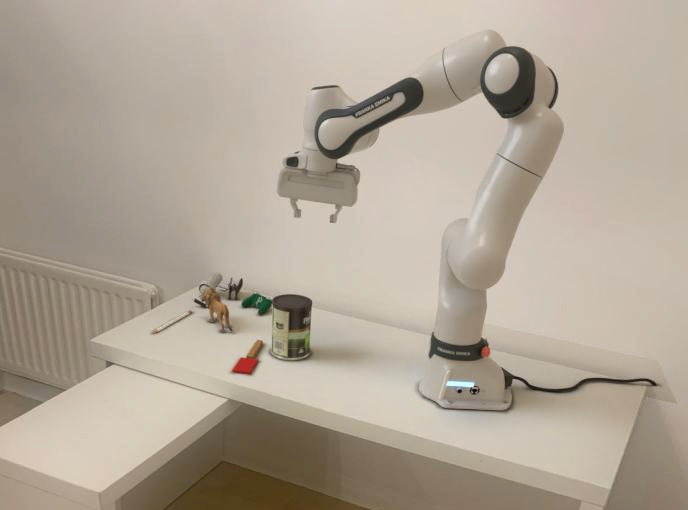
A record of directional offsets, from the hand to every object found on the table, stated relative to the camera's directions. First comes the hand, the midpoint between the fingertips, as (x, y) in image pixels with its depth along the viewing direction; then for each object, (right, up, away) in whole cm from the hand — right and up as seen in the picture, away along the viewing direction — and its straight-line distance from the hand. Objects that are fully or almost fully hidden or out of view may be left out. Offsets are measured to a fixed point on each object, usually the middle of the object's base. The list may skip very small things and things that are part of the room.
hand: (315, 219), depth 189 cm
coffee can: (-6, -32, +9) cm, 34 cm away
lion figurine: (-27, -21, +22) cm, 41 cm away
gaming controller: (-17, -14, +33) cm, 40 cm away
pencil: (-40, -21, +22) cm, 50 cm away
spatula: (-17, -34, +4) cm, 38 cm away
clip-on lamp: (-30, -9, +38) cm, 49 cm away
